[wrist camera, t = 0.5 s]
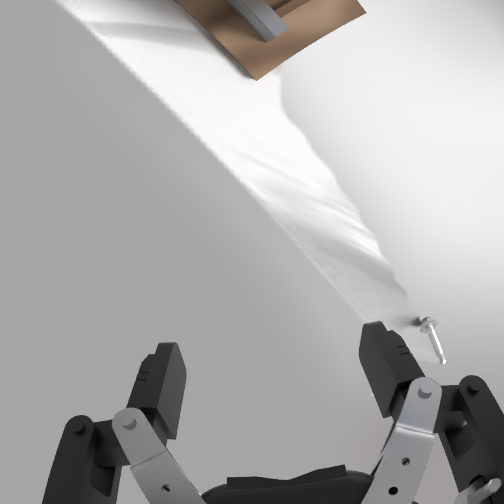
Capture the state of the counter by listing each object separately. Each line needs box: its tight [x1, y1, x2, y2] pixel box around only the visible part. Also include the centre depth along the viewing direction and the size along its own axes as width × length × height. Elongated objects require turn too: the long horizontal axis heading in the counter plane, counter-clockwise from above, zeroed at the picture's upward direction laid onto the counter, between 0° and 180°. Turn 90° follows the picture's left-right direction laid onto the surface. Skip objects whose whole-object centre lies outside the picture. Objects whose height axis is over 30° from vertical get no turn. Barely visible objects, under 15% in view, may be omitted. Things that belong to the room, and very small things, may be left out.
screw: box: [420, 317, 446, 364], centre depth 55 cm, size 13×5×5 cm
